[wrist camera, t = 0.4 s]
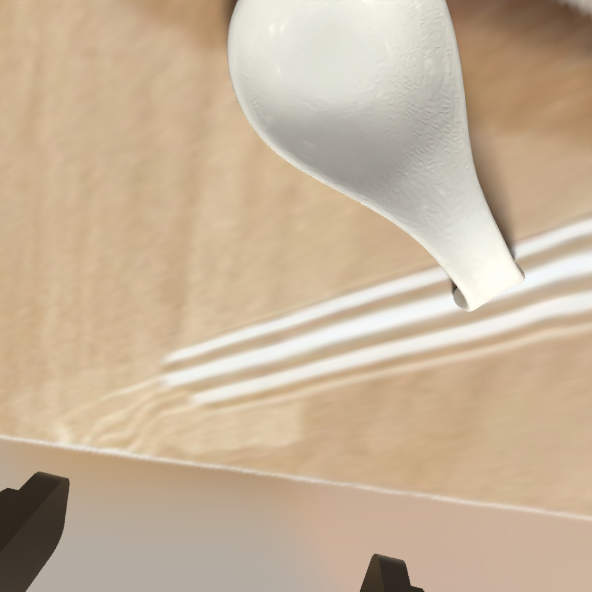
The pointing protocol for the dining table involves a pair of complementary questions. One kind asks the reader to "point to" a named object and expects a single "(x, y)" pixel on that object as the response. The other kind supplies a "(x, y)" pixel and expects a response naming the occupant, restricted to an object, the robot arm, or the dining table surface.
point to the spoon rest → (375, 120)
